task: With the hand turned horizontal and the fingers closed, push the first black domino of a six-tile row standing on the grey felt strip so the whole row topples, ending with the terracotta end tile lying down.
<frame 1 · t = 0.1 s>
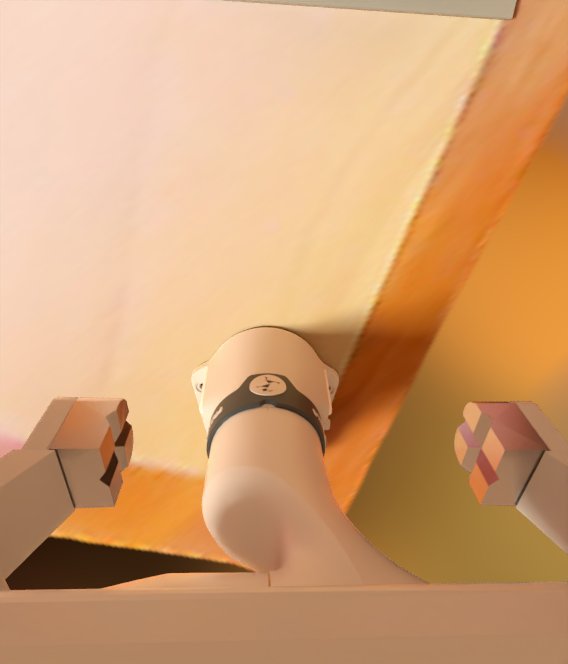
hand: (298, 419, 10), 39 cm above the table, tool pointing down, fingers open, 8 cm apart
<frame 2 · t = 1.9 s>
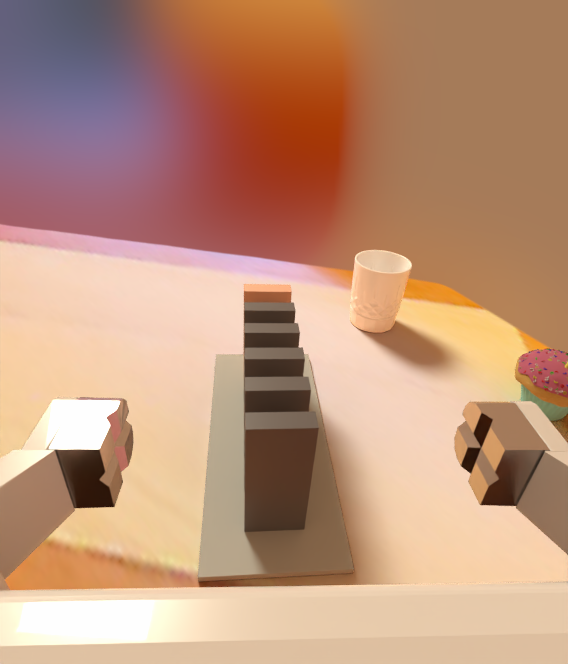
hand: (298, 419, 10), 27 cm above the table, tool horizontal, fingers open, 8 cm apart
domino 6: (264, 375, 53), point 1 cm above the table, touching felt strip
white cup: (371, 322, 66), on the table
domino 2: (271, 483, 40), point 1 cm above the table, touching felt strip
cupcake: (539, 407, 52), on the table
domino 1: (273, 522, 36), point 1 cm above the table, touching felt strip
domino 3: (269, 450, 43), point 1 cm above the table, touching felt strip
domino 5: (265, 396, 49), point 1 cm above the table, touching felt strip
felt strip: (267, 439, 45), on the table
domino 4: (267, 421, 46), point 1 cm above the table, touching felt strip
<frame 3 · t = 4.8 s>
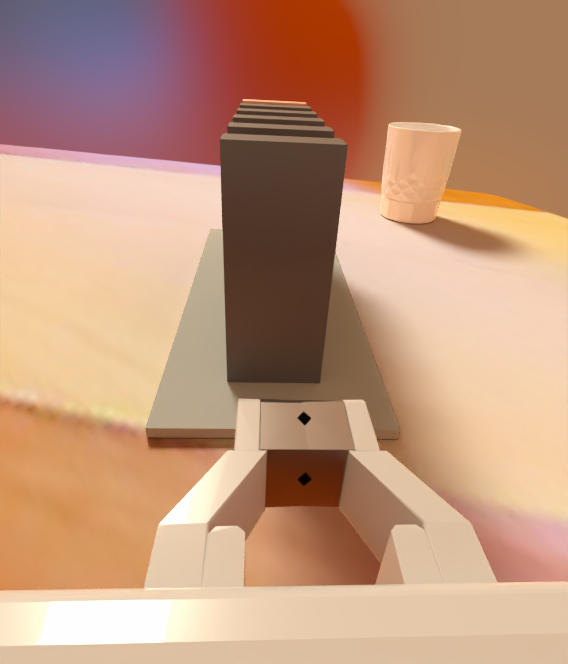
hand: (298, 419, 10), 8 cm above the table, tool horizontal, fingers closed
white cup: (406, 217, 53), on the table
domino 2: (272, 335, 27), point 1 cm above the table, touching felt strip
domino 1: (273, 373, 24), point 1 cm above the table, touching felt strip
domino 3: (271, 306, 30), point 1 cm above the table, touching felt strip
domino 5: (270, 262, 37), point 1 cm above the table, touching felt strip
felt strip: (271, 300, 32), on the table
domino 4: (271, 282, 34), point 1 cm above the table, touching felt strip
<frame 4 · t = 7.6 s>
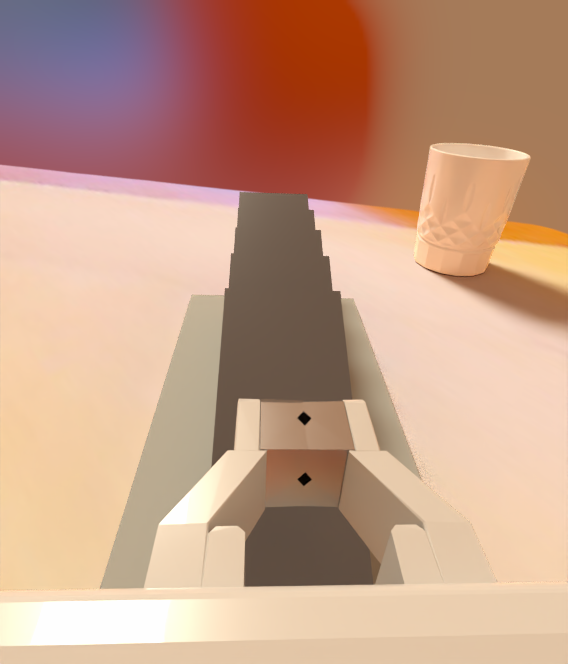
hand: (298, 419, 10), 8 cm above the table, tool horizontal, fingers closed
white cup: (448, 264, 41), on the table
domino 2: (282, 506, 16), point 1 cm above the table, tilted 65°, touching domino 1, domino 3, felt strip
domino 1: (287, 623, 13), point 1 cm above the table, tilted 66°, touching domino 2, felt strip
domino 3: (279, 430, 19), point 1 cm above the table, tilted 65°, touching domino 2, domino 4, felt strip
domino 5: (275, 335, 26), point 1 cm above the table, tilted 65°, touching domino 4, domino 6
felt strip: (278, 443, 20), on the table
domino 4: (277, 375, 23), point 1 cm above the table, tilted 65°, touching domino 3, domino 5
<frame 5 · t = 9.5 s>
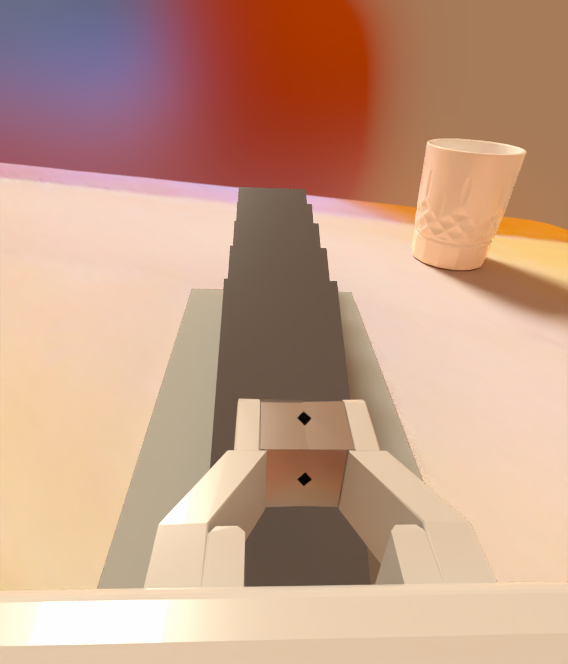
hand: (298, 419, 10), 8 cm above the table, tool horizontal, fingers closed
white cup: (445, 259, 42), on the table
domino 2: (281, 490, 16), point 1 cm above the table, tilted 65°, touching domino 1, domino 3, felt strip
domino 1: (285, 599, 13), point 1 cm above the table, tilted 66°, touching domino 2, felt strip
domino 3: (278, 417, 20), point 1 cm above the table, tilted 65°, touching domino 2, domino 4, felt strip
domino 5: (274, 327, 26), point 1 cm above the table, tilted 65°, touching domino 4, domino 6
felt strip: (276, 431, 21), on the table
domino 4: (276, 365, 23), point 1 cm above the table, tilted 65°, touching domino 3, domino 5
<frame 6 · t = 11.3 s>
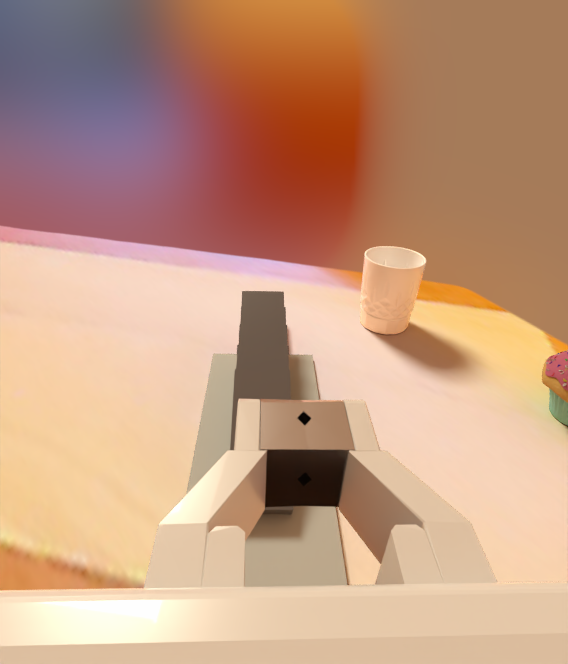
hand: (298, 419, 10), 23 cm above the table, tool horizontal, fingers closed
white cup: (382, 324, 61), on the table
domino 2: (260, 470, 36), point 1 cm above the table, tilted 65°, touching domino 1, domino 3, felt strip
domino 1: (260, 512, 33), point 1 cm above the table, tilted 66°, touching domino 2, felt strip
domino 3: (261, 436, 40), point 1 cm above the table, tilted 65°, touching domino 2, domino 4, felt strip
domino 5: (262, 383, 46), point 1 cm above the table, tilted 65°, touching domino 4, domino 6
felt strip: (261, 443, 41), on the table
domino 4: (262, 407, 43), point 1 cm above the table, tilted 65°, touching domino 3, domino 5
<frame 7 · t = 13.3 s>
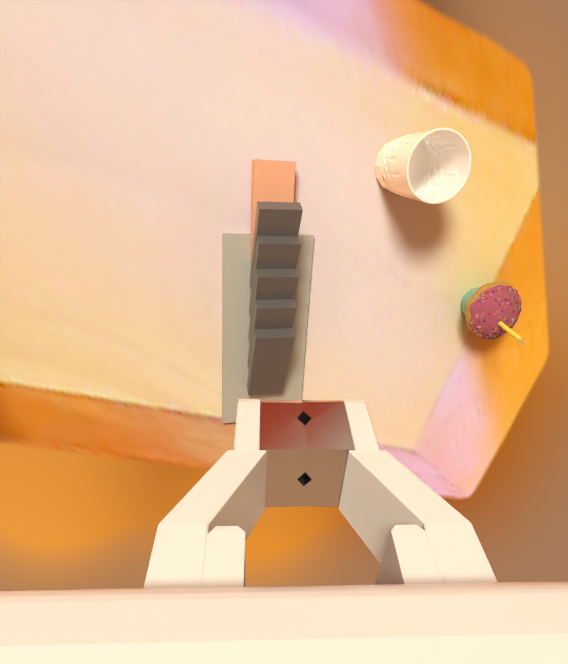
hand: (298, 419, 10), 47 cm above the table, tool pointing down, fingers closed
domino 6: (270, 259, 56), point 1 cm above the table, tilted 90°, touching domino 5, felt strip
white cup: (397, 165, 57), on the table
domino 2: (265, 365, 62), point 1 cm above the table, tilted 65°, touching domino 1, domino 3, felt strip
cupcake: (472, 301, 67), on the table
domino 1: (264, 390, 63), point 1 cm above the table, tilted 66°, touching domino 2, felt strip
domino 3: (266, 340, 60), point 1 cm above the table, tilted 65°, touching domino 2, domino 4, felt strip
domino 5: (268, 286, 57), point 1 cm above the table, tilted 65°, touching domino 4, domino 6
felt strip: (264, 333, 61), on the table
domino 4: (267, 314, 59), point 1 cm above the table, tilted 65°, touching domino 3, domino 5
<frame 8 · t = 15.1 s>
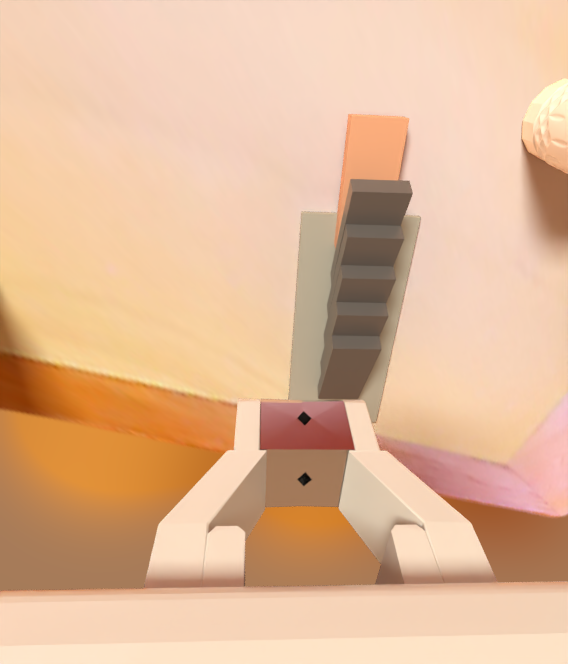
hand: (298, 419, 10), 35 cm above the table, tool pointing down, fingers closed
domino 6: (359, 247, 44), point 1 cm above the table, tilted 90°, touching domino 5, felt strip
white cup: (556, 119, 40), on the table
domino 2: (341, 368, 52), point 1 cm above the table, tilted 65°, touching domino 1, domino 3, felt strip
domino 1: (337, 393, 54), point 1 cm above the table, tilted 66°, touching domino 2, felt strip
domino 3: (345, 340, 50), point 1 cm above the table, tilted 65°, touching domino 2, domino 4, felt strip
domino 5: (354, 279, 46), point 1 cm above the table, tilted 65°, touching domino 4, domino 6
felt strip: (343, 331, 51), on the table
domino 4: (349, 311, 48), point 1 cm above the table, tilted 65°, touching domino 3, domino 5
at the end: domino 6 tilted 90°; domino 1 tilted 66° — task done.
